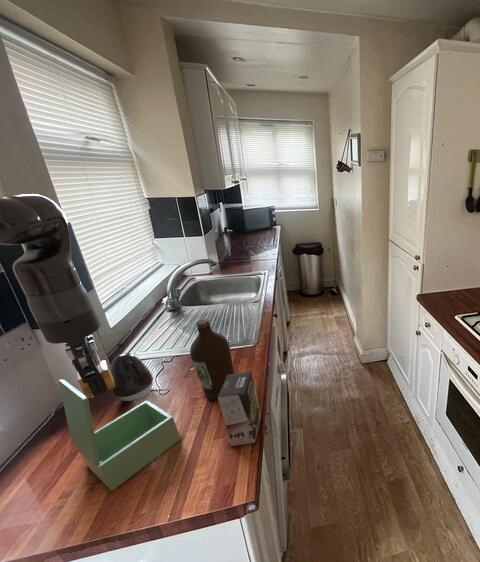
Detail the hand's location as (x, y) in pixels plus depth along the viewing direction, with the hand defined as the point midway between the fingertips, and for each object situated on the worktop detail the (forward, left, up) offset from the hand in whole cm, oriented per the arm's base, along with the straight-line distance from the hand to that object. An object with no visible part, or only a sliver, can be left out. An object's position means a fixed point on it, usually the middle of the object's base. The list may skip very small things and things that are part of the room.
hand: (99, 386), depth 61 cm
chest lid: (-3, +9, -11) cm, 15 cm away
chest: (+3, +9, -27) cm, 29 cm away
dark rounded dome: (+14, +32, -27) cm, 44 cm away
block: (0, 0, 0) cm, 0 cm away
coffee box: (+21, -11, -27) cm, 36 cm away
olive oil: (+28, +10, -27) cm, 40 cm away
